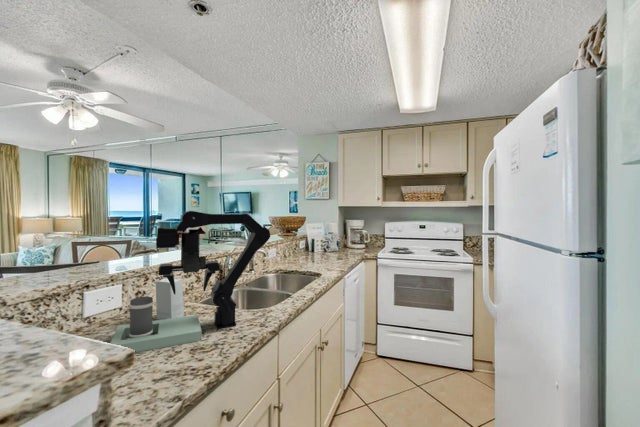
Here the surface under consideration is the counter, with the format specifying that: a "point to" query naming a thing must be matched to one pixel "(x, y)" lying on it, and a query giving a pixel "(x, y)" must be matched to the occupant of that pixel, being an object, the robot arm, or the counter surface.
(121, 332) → the pale green recessed tray
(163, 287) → the skincare box
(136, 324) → the white-banded grey cylinder
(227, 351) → the counter surface
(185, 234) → the robot arm
